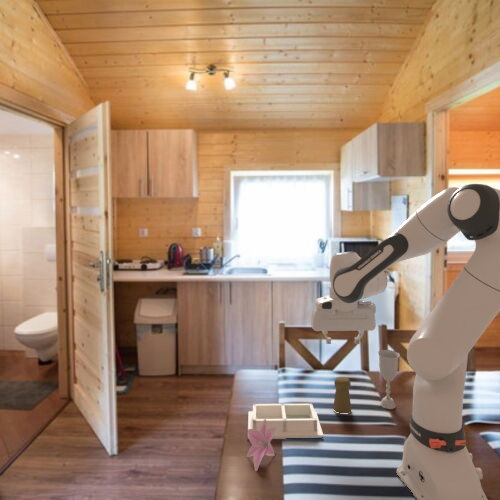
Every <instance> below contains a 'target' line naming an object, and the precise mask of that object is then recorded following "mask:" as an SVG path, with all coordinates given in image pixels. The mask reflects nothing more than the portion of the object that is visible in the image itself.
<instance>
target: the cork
mask: <svg viewBox="0 0 500 500" xmlns="http://www.w3.org/2000/svg"><path fill="white" fill-rule="evenodd" d="M333 383H334V387H335V393H334V401H333V409H334V410H335V411H336V412H339V413H349V412H351V410H352V404H351V395H350V388H351V385H352V384H351V380H350V378H348V377H346V376H338V377H336V378H335V379H334V382H333ZM333 409H332V410H333ZM351 413H352V412H351Z"/></svg>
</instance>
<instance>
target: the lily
mask: <svg viewBox="0 0 500 500" xmlns="http://www.w3.org/2000/svg"><path fill="white" fill-rule="evenodd" d="M277 429H278V427H277V426H274V427H270V428H268V429H267V423H266V419H264V421H263V423H262V425H261V428H260V431H259V430H257V429H248V428H247V438H248V437H249V439H248V440H249V442H250V443H251V446H250V448H249V450H248V451H247V453H246V458H249V457H253V458H252V459H253V461H252V462H253V468H254V471H255V472H257V471H258V469H259V466H260V465H261V462H262V460H263V459H264V456H269V457H275V455H277V453H276V452H275V450H274V447H273V446H272V444H271V442H272V440H273V439H272V437H273V436H274V434H275V432H276V431H277Z"/></svg>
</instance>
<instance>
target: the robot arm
mask: <svg viewBox="0 0 500 500" xmlns="http://www.w3.org/2000/svg"><path fill="white" fill-rule="evenodd" d="M460 232H461V234H462V235H463V236H464V237H465V239H467V240H469V241H474V242H475V248H474V251H473V253H472V255H471V256H470V258H469V259H468V260H467V262H466V263H465V265H464V266H463V267H462V269H461V270H460V272H459V273H458V274H457V276H456V277H455V279H454V280H453V282H452V283H451V284H450V286H449V287H448V288H447V290H446V291H445V293H444V294H443V296H442V297H441V298H440V299H439V301H438V302H437V303H436V304H435V306H434V308H432V310H431V311H430V313H429V314H428V316H426V318H425V320H423V322H422V324H420V325H419V327H418V328H417V330H416V331H415V332H414V334H413V335H412V337H411V338H410V340H409V343H408V345H407V352H406V358H407V364H408V365H409V367H410V368H411V370H413V372H415V373H416V374H415V377H414V378H415V379H414V382H413V387H412V413H411V415H410V419H409V432H410V434H409V436H408V437H407V438H406V439H405V441H403V450H402V461H401V462H402V463H401V465H400V466H398V467H397V469H396V471H395V472H396V473H397V474H396V473H395V474H396V476H397V475H398V476H399V477H400V478H401V479H400V478H399V477H398V476H397V477H398V478H399V479H400V481H401V482H402V481H403V482H404V483H405V484H406V485H407V487H408V488H409V489H410V490H411V491H410V490H409V489H408V488H407V487H406V488H407V489H408V490H409V491H410V493H411V492H412V493H413V494H412V493H411V494H412V495H413V496H414V497H415V499H416V498H417V499H418V500H489V499H488V498H487V495H486V493H485V492H484V489H483V487H482V484H481V480H483V477H484V476H483V471H482V468H480V467H475V465H474V463H473V457H474V456H473V454H472V453H471V452H469V450H468V448H467V440H466V431H465V427H464V424H463V411H464V410H463V406H464V405H463V404H464V392H465V385H466V378H467V377H466V376H467V368H468V367H467V366H468V357H469V353H470V352H471V350H472V349H473V348H474V346H475V345H476V344H477V343H478V341H479V339H480V338H481V337H482V335H483V334H484V333H485V332H486V330H487V329H488V328H489V326H490V325H491V323H492V322H493V321H494V319H495V318H496V316H497V315H498V314H499V313H500V189H499V188H494V187H492V186H489V185H487V184H483V183H470V184H465V185H462V186H461V187H455V186H451V187H447V188H445V189H444V190H442V191H440V192H438V193H437V194H435V195H433V196H432V197H431V198H429V199H428V200H427V201H426V202H425V203H423V204H422V205H420V207H418V208H417V209H416V210H415V211H414V212H413V213H412V214H411V215H410V216H409V217H408V218H407V219H406V220H405V221H403V223H401V224H400V225H399V226H398V228H396V229H395V230H394V231H392V233H390V234H389V235H388V236H387V237H386V238H385V239H384V240H381V242H380V243H379V244H377V245H376V246H375V247H373V248H372V249H371V250H370V251H368V252H367V253H366V254H365V255H363V256H362V257H360V256H359V254H358V253H357V252H355V251H346V252H337V253H334V254H333V255H332V257H331V260H330V264H329V282H330V287H329V288H330V289H329V294H327V295H324V296H321V297H318V298H316V299H315V301H314V302H315V306H314V307H313V310H312V314H311V328H312V330H313V331H314V332H322V334H323V336H324V337H325V338H324V339H325V344H326V345H331V344H332V337H330V336H329V337H328V333H329V332H351V331H352V332H354V331H355V332H358V335H357V336H354V344H357V345H358V344H359V345H360V344H361V339H362V338H363V336H364V335H365V332H366V331H368V332H370V331H372V332H373V331H374V330H375V329H376V315H375V314H376V312H377V307H376V304H375V303H374V302H372V301H367V300H366V301H360V300H364V299H366V298H370V297H373V296H377V295H379V294H382V293H383V292H384V291H386V288H387V286H388V276H387V274H386V270H387V269H389V268H390V267H392V266H393V265H395V264H397V263H400V262H403V261H405V260H409V259H413V258H417V257H421V256H425V255H428V254H430V253H432V252H434V251H436V250H437V249H439V248H440V247H441V246H442V247H443V245H445V244H446V243H447V242H448V241H450V240H451V239H452V238H454V237H455V236H456V235H457V234H458V233H460ZM403 482H402V483H403ZM404 483H403V484H404ZM405 484H404V485H405ZM406 485H405V486H406ZM417 499H416V500H417Z"/></svg>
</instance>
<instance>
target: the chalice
mask: <svg viewBox="0 0 500 500" xmlns="http://www.w3.org/2000/svg"><path fill="white" fill-rule="evenodd" d="M377 353H378V356H379V361H378V362H379V364H378V365H379V370H380V373H381V375H382V377H383V379H384V381H386V385H385V387H386V390H385V393H386V395H385V396H383V398H382V399H381V401H380V403H379V405H381V406H382V408H383V409H387V410H393V409H395V408H396V404H395V401H394V399H393V398H392V397H391V396H390V394H391V390H390V389H391V387H392V386H391V384H390V383H391V382H393V380H394V379H395V377H396V375H397V372H398V370H399V358H400V355H401V354H400V353H399V352H397V351H394V350H391V349H381V350H378V352H377ZM381 406H380V407H381Z"/></svg>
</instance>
